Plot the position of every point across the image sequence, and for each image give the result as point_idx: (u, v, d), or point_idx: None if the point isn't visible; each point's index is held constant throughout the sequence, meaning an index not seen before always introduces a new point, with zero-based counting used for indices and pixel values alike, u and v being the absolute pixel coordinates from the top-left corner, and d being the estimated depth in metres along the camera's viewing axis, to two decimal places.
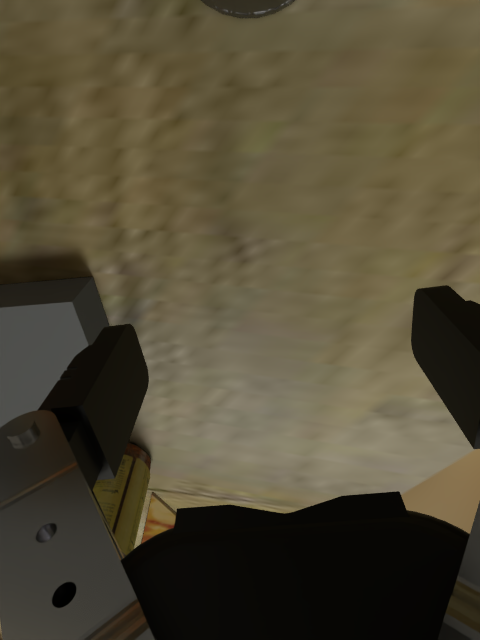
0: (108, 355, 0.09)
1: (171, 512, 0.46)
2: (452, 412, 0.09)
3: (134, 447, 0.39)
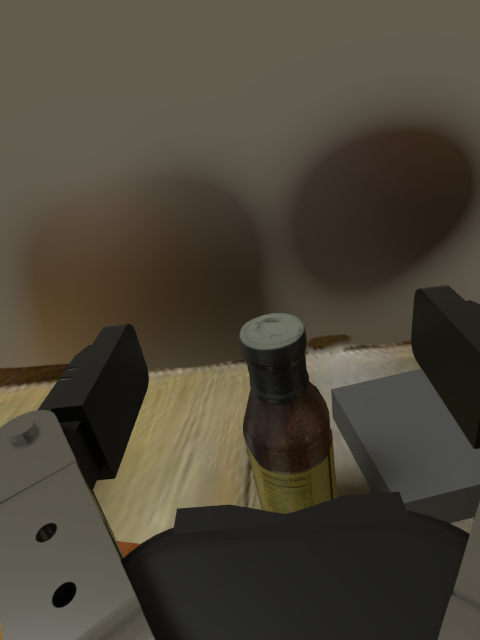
0: (108, 355, 0.09)
1: None
2: (452, 411, 0.09)
3: None
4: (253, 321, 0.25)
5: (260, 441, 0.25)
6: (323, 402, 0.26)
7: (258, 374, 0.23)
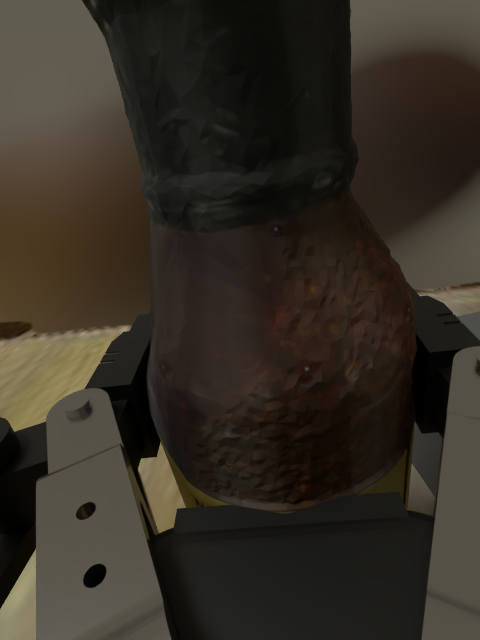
0: (148, 339, 0.10)
1: None
2: None
3: None
4: None
5: (171, 388, 0.07)
6: (398, 266, 0.08)
7: (140, 56, 0.05)
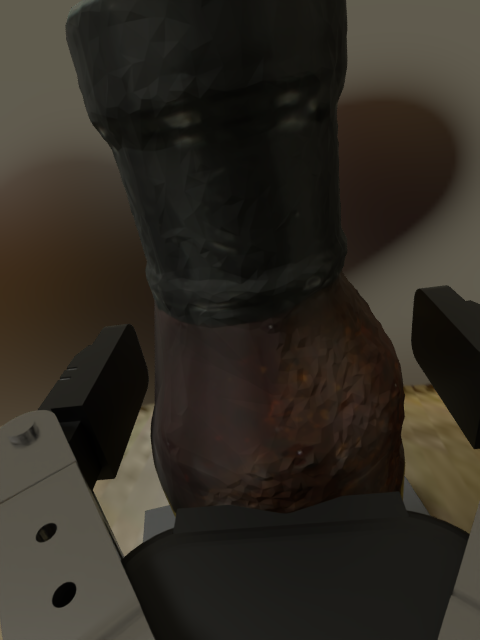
0: (108, 355, 0.09)
1: None
2: (452, 412, 0.09)
3: None
4: None
5: (175, 463, 0.07)
6: (387, 337, 0.08)
7: (146, 182, 0.06)
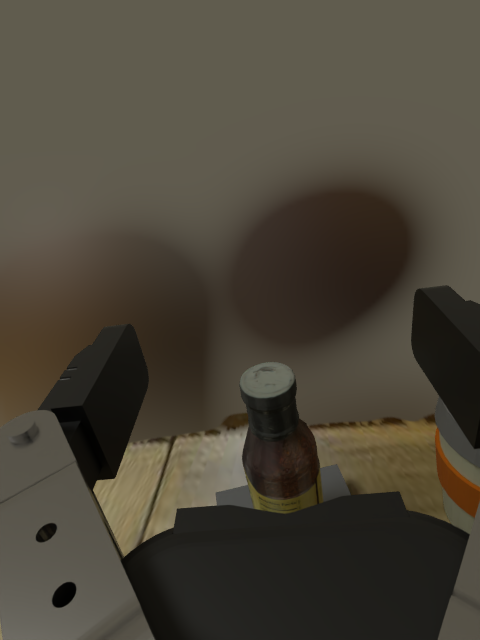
0: (108, 355, 0.09)
1: None
2: (452, 412, 0.09)
3: None
4: (251, 369, 0.29)
5: (257, 472, 0.29)
6: (311, 437, 0.30)
7: (255, 416, 0.28)
